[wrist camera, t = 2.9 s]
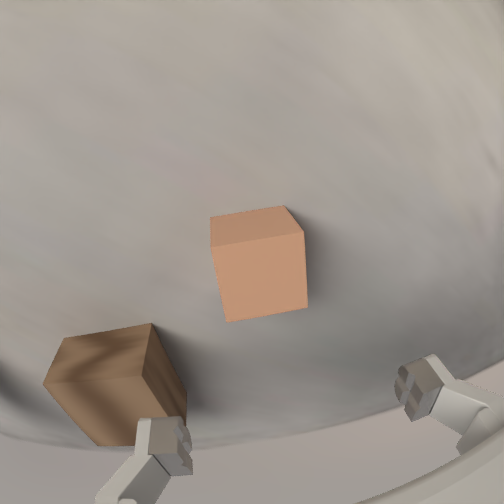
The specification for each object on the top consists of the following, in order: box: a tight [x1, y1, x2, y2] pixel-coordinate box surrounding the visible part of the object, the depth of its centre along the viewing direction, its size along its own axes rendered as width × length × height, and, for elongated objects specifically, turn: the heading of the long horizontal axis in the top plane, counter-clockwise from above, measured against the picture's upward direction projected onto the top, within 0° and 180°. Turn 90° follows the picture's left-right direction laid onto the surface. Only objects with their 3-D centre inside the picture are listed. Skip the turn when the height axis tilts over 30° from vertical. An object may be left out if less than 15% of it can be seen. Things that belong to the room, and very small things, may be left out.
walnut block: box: [43, 323, 187, 446], centre depth 23 cm, size 9×9×6 cm
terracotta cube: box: [210, 206, 308, 322], centre depth 20 cm, size 5×5×5 cm
